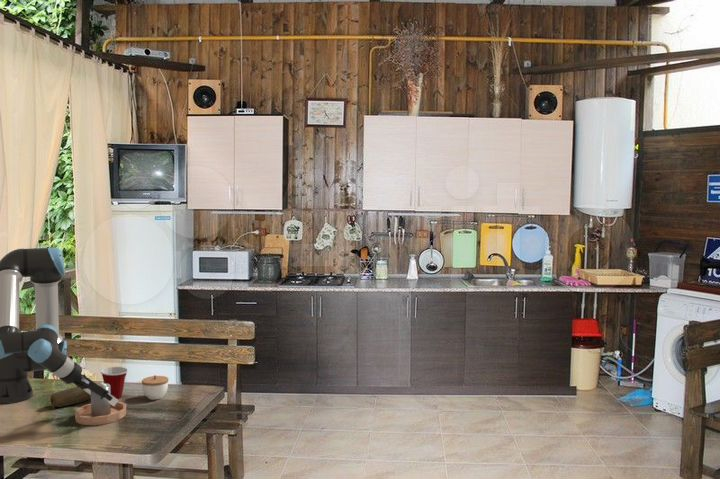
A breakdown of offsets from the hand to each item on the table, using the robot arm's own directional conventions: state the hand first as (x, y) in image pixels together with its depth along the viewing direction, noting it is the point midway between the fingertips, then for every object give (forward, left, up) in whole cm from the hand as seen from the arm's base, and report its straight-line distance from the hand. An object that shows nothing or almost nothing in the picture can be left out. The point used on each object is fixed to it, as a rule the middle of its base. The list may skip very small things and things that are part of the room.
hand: (106, 399), depth 231 cm
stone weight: (-23, -3, -7) cm, 24 cm away
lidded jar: (-4, +24, -6) cm, 25 cm away
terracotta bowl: (0, -2, -6) cm, 7 cm away
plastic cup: (-17, +13, -6) cm, 22 cm away
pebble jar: (0, -2, -5) cm, 6 cm away
